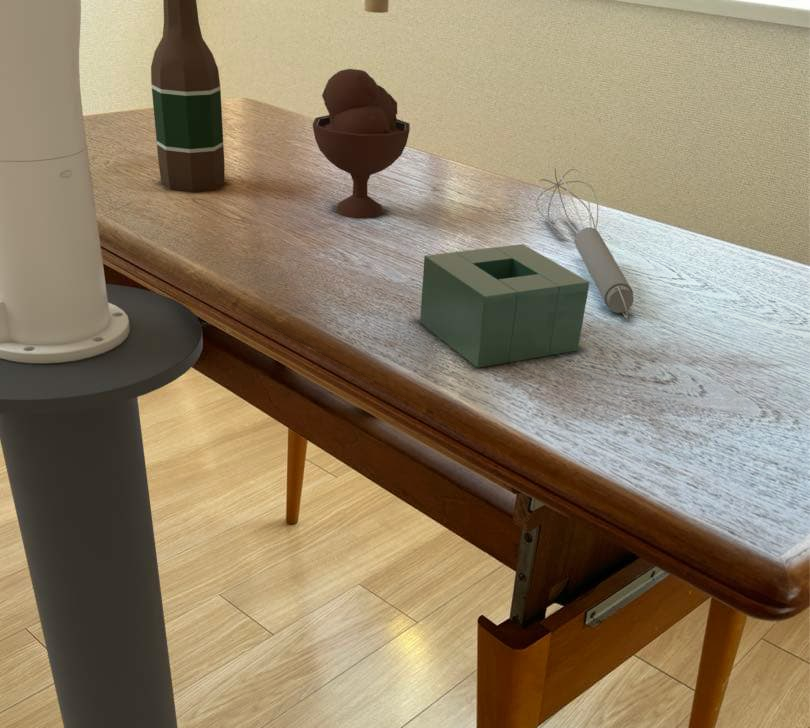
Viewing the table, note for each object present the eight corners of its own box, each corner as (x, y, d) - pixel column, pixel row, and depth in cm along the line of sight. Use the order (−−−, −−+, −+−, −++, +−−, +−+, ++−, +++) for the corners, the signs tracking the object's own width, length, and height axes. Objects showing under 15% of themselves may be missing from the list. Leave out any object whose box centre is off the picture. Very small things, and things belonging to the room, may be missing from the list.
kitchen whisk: (592, 323, 85) (604, 254, 81) (527, 214, 112) (534, 159, 109) (657, 325, 85) (673, 256, 82) (577, 216, 113) (586, 161, 109)
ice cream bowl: (389, 230, 104) (396, 81, 95) (297, 215, 106) (295, 69, 98) (418, 205, 112) (427, 67, 103) (332, 192, 115) (333, 56, 106)
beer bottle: (193, 171, 119) (177, -51, 105) (238, 184, 116) (228, -45, 102) (146, 183, 114) (123, -50, 100) (192, 196, 110) (175, -44, 96)
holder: (477, 368, 76) (485, 296, 72) (419, 322, 83) (424, 255, 79) (578, 350, 80) (590, 281, 76) (514, 308, 87) (523, 243, 83)
